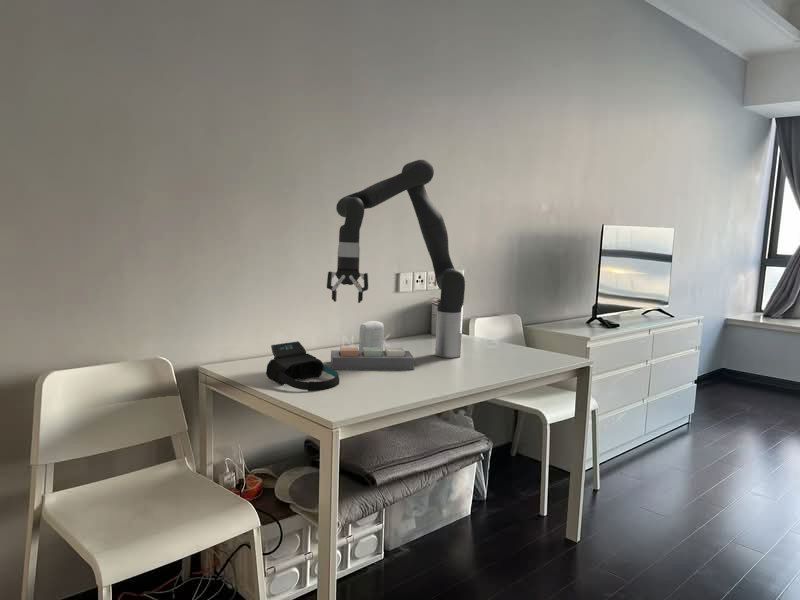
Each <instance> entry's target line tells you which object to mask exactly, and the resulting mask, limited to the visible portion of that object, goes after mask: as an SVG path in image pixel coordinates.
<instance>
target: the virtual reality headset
mask: <svg viewBox="0 0 800 600" xmlns="http://www.w3.org/2000/svg"><path fill="white" fill-rule="evenodd" d="M270 346H271V352H272V355H273V359H270V360H269V362H268V363H267V366H266V371H265V376H266V377H267V378H268V379H269V380H271V381H272V382H274V383H276V384H279V385H280V386H285V385H286V386H289V387H291V388H293V389H297V390H303V391H307V392H320V390H321V391H325V390H329V389H333V388H336V387H337V386H339V385H340V375H339V372H338V371H337V370H336V369H332V367H330V366H328V365H325V364H323V363H324V362H322V361H321V360H320V359H319V358H317V357H316V356H314V355H312V354H310V353H307V351H306V349H305V347H304V346H303V345H302V344H301V342H300V341H297V340H296V341H289V342H285V343H277V344H271V345H270ZM323 372H324V373H326V374H329V375H331V377H333V378H331V379H327V380H320V381H315V380H311V381H302V380H309V379H316V378H320V377H321V376H322V373H323ZM284 384H285V385H284Z"/></svg>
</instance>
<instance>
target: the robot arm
mask: <svg viewBox="0 0 800 600" xmlns="http://www.w3.org/2000/svg"><path fill="white" fill-rule="evenodd" d="M434 173H435V169H434V167H433V165H432V164H431V162H429V160H425V159H417V160H414V161H411V162H410V161H409V162H407V163H406V164H404V165H403V167H402V169H401V172H400V173H399V174H396V175H394V176H392V177H389V178H386V179H383V180H380V181H378V182H376V183H374V184H372V185H370V186H368V187H365V188H364V189H362V190H360V191H357V192H354V193H350V194H348V195H345V196H343V197H341V199H339V200H338V201H337V204H336V207H335V209H336V212H337V214H338V216H340V217H342V218H345V219H344V224H343V225H341V226H340V227H339V230H338V231H339V233H338V247H337V264H336V265H337V268H336V269H337V270H336V272H335V271H331V270H329V271H328V272H327V279H326V289H327V290H331V300H333V302H335V303H336V302H337V292H338V291H337V290H338V287H340V286H341V285H343V286H346V285H348V286H352V285H354V287H356V289H357V291H358V294H357V304H360V303H361V302H362V301H363V297H364V292H365V291H368V289H369V274H368V272H365V273H362V272H360V257H361V255H360V253H361V252H360V251H361V250H360V249H361V247H360V235H361V234H360V233H361V227H362V224H363V220H364V216H365V210H366V209H373V208H375V207H377V206H379V205H381V204H382V203H384V202H386V201H388V200H390V199H392V198H393V197H395V196H397V195H399V194H401V193H403V192H405V191H406V192H407V194H408V196H409V198H410V201H411V203H412V206H413V209H414V213H415V215H416V219H417V221H418V225H419V229H420V232H421V235H422V238H423V240H424V243H425V247H426V249H427V252H428V255H429V257H430V260H431V263H432V268H433V272H434V278H435V282H436V285H437V287H438V289H439V290H440V299H439V302H438V303H437V307H436V311H437V312H436V327H435V328H436V329H435V330H436V331H435V348H434V349H435V350H434V352H435V353H434V355H435V356H437V357H440V358H458V357H459V358H460V357H461V353H462V352H461V351H462V333H463V332H462V331H461V327H462V310H463V309H462V308H463V305H464V301H465V289H466V279H465V277H464V274H462V272H460V271H459V270H456V269H455V267H454V264H453V261H452V259H451V257H450V251H449V236H448V229H447V226H446V224H445V219H444V217H443V215H442V213H441V212H440V210H438V208H437V207H436V205H434V203H433V202H432V201H431V199H430V198H429V196H428V195H429V194H428V192H427V191H426V187H425V185H427V184H429V183H430V182H431V181H432V179H433V177H434V175H435V174H434ZM334 277H336V279H338V280H337V281H336V283H334V285H332V281H333V278H334ZM360 277H361V279H362V280H363V286H362V285H361V284H360V282H359V281H358V279H360Z"/></svg>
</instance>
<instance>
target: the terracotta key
mask: <svg viewBox="0 0 800 600" xmlns="http://www.w3.org/2000/svg"><path fill="white" fill-rule="evenodd" d="M339 350H340V356H359V347H357V346H352V347H349V346H347V347H346V346H343V347H342V346H340V348H339Z"/></svg>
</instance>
